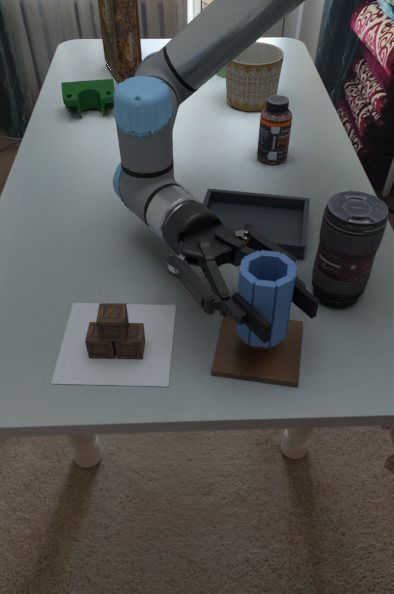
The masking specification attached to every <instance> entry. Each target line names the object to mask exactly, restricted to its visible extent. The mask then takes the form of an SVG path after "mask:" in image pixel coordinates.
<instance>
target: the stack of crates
mask: <svg viewBox="0 0 394 594" xmlns="http://www.w3.org/2000/svg"><path fill="white" fill-rule="evenodd" d="M176 309H177V304H149V303H147V304H145V303H144V304H143V303H142V304H141V303H124V302H123V303H121V302H119V303H118V302H115V303H106V302H105V303H104V302H103V303H100V302H97V303H95V302H94V303H93V302H73V303H72V305H71V309H70V312H69V316H68V320H67V324H66V327H65V330H64V335H63V338H62V341H61V345H60V349H59V352H58V356H57V360H56V363H55V366H54V370H53V373H52V378H51V381H50V384H52V385H83V386H85V385H86V386H87V385H88V386H89V385H90V386H123V387H125V386H126V387H163V388H165V387H167V388H168V387H169V385H170V376H171V375H170V374H171V373H170V372H171V364H172V355H173V354H172V353H173V343H174V332H175V321H176V312H177V310H176Z"/></svg>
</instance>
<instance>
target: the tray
mask: <svg viewBox="0 0 394 594" xmlns="http://www.w3.org/2000/svg"><path fill="white" fill-rule="evenodd" d="M310 200H311V198H310V197H303V196H302V197H301V196H293V195H292V196H290V195H282V194H272V193H271V194H269V193H261V192H249V191H238V190H229V189H218V188H207V190H206V193H205V196H204V199H203V202H202V204H203V205H205V206H206V207H207V208H208V209H210V210H211V211H212V212H213V213H214V214H215V215H217V217H218V218H219V219H220V221H221V223H222V224H223V225H224V226H225V227H227V228H230V229H233V230H234V231H240V230H244V229H245V225H246V224H253V226H254V227H255V228H256V230H257V231H258V232H259V233H260V234H262V235H263V236H264V237H266V238H267V239H269V240H270V241H272V242H273V243H275V244H276V245H278V246H279V247H281V248H282V249H284V250H285V251H287V252H288V253H290V254H291V255H293V256H294V257H295V258H296V260H304V258H305V253H306V245H307V236H308V223H309V212H310Z"/></svg>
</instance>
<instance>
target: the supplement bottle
mask: <svg viewBox="0 0 394 594" xmlns="http://www.w3.org/2000/svg"><path fill="white" fill-rule="evenodd" d="M266 106H267V107H266V108H264V109H263V110H261V111H260V116H259V128H258V138H257V151H256V157H257V159H258V160H259V161H260V162H263V163H265V164H269V165H277V164H281V163H283V162H285V161H286V160H287V158H288V154H289V145H290V139H291V132H292V131H291V130H292V124H293V112H292V110H290V108H289V107H290V99H289V98H288V97H287V96H284V95H282V94H281V95H280V94H277V95H273V96H270V97H268V98H267V104H266Z"/></svg>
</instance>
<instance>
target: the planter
mask: <svg viewBox="0 0 394 594" xmlns="http://www.w3.org/2000/svg"><path fill="white" fill-rule="evenodd" d="M284 57H285V51H284V50H283V49H282V48H280V47H279V46H277V45H274V44H272V43H267V42H260V41H256V42H254V43H253V44H252V45H251V46H250V47H248V48H247V49H246V50H245V51H244V52H242V53H241V54H240V55H239V56H238V57H236V58H235V59H234V60H233V61H232V62H230V63H229V64H228V65H227V66H226V67H225V76H226V78H225V93H226V100H227V103H229V105H230V106H231V107H232V108H234V109H236V110H239V111H244V112H262V110H263V109H264V108H266V107H267V106H266V104H267V98H268V97H270V96H273V95H278V89H279V84H280V78H281V73H282V67H283V62H284Z"/></svg>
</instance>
